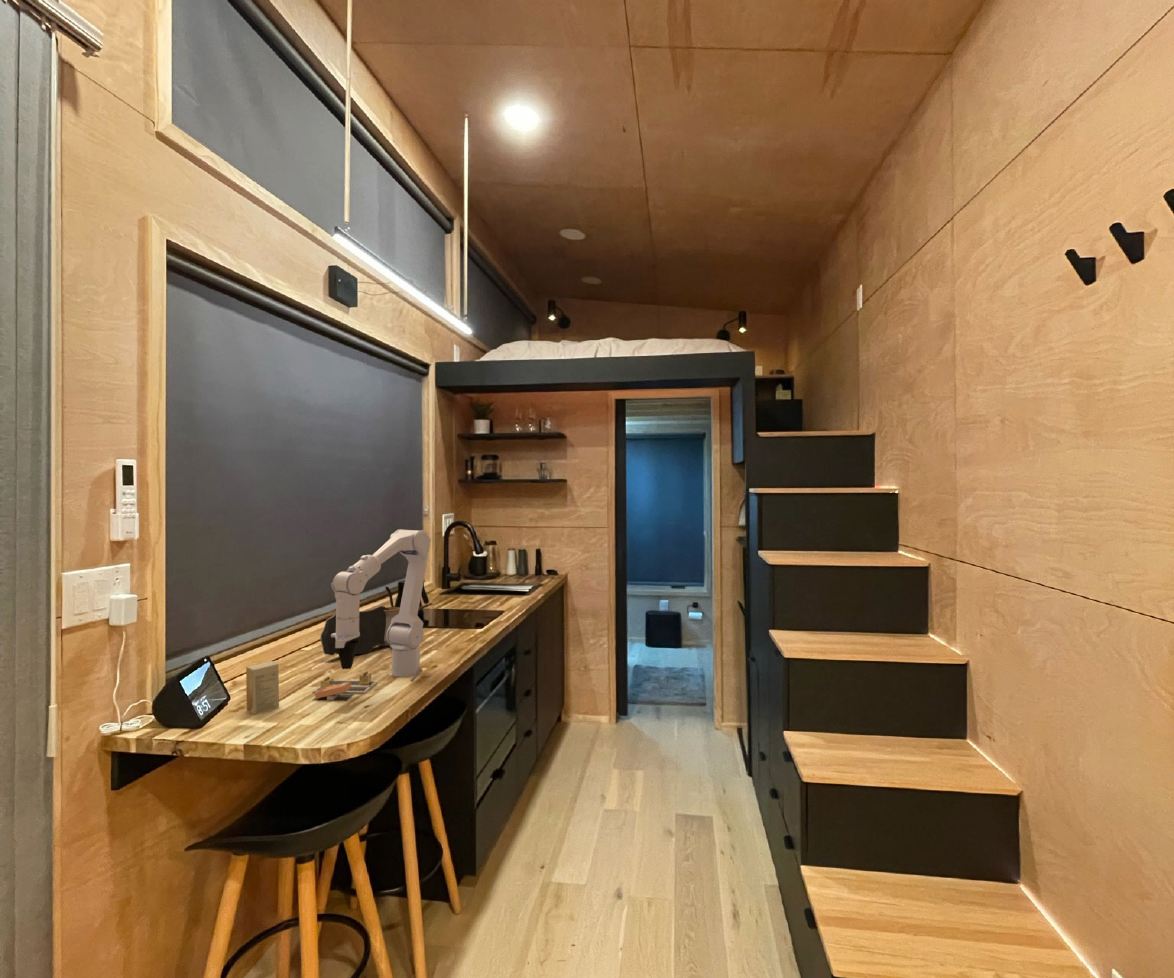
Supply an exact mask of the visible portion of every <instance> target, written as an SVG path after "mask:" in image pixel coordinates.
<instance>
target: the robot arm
mask: <svg viewBox="0 0 1174 978" xmlns="http://www.w3.org/2000/svg"><path fill="white" fill-rule="evenodd" d="M430 546H431V538H430V536H429V534H428V532H427V531H426V530H423V529H420V530H416V529H415V530H412V529H404V528H403V529H401V528H399V529H397V530H396V531H394V532H393V533H391V534H390V537H389V539H388V540H387V541H386V542H384V544H383V545H382V546H381V547H379V549H377V551H375V552H374V553H373V554H366V555H362V556H361V557H360V559H359V560H358V561H357V562H356V563H353V565H350V566H349V567H348V568H347V570H346V571H340V572H338V573H337V574H336V575H335V576H334V578H333V579H332V582H331V583H330V586H331V588H332V591H333V593H334V598H335V601H336V607H335V609H336V613H335V614H336V633H333V634H331V637H335V639H336V641H335V643H334V647H335V649H336V650H337V652H338V654H337V655H338V656H339V662H340V666H341V669H342V670H350V669H352V667H353V664H354V661H355V660H354V659H355V655H356V654H355V652H356V649H357V646H358V644H359V642H360V639H354V638H357V637H359V636H360V632H359V611H360V604H361V603H360V600H361V599H360V597H361V596H360V593H362V592H363V591H364V589H365V587H366V584H367V583H368V581H369V580H370V579H371V578H372V577H374V576H375V575H376V574H377V573H379V572H380V570H381V568H382V566H381V565H382V564H383V563H384V562H386V561H387V560H389V559H390V558H391V557H393V556H394V555H396V554H397V553H398V552H399V554H401V555H402V556H403V557H404V558H406V560H407V562H408V564H407V569H406V573H405V574H406V575H405V580H404V584H403V590H402V596H401V602H400V606H399V608H400V610H399V611H398V615H396V616H395V617H394V618H392V620H391V624H390V626H389V628H388V630H387V633H386V639H387V641H388V643H389V644H390V648H391V675H392V676H394V677H399V678H401V677H402V678H403V677H405V678H406V677H411V676H413V677H412V678H411V680H410V682H414V681H415V680H416V679H417V678H418V677H419V676H420V675H421V673H422V672H423V671H424V669H420V666H421V664H420V663H421V661H420V659H421V658H420V657H421V650H420V645H421V644H422V642H423V640H424V629H423V627H424V622H423V620H422V619H421V618H420V617H419V616H418V614H419V611H418V609H419V607H420V603H421V599H422V592H423V587H424V581H425V576H426V570H427V565H428V561H429V560H428V559H429V552H430V551H429V550H430ZM419 669H420V670H419ZM418 670H419V671H418ZM414 675H415V676H414ZM418 675H419V676H418Z"/></svg>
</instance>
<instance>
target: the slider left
mask: <svg viewBox="0 0 1174 978" xmlns="http://www.w3.org/2000/svg"><path fill="white" fill-rule="evenodd" d="M358 679H359V685H370V684H371V681H372V672H369V671H365V672H362V673H360V674H359V678H358Z"/></svg>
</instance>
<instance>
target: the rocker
mask: <svg viewBox="0 0 1174 978" xmlns="http://www.w3.org/2000/svg"><path fill="white" fill-rule="evenodd" d="M350 688H351V682H346V683H342V684H338V685H333V686H329V687H325V688H321V689H320V690H318V691H317V692H315V693H314V698H315V697H316V699H317V698H322V697H326V696H330V695H334V694H338V693H343V692H346V691H347V690H349V689H350Z"/></svg>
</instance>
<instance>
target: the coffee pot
mask: <svg viewBox="0 0 1174 978" xmlns="http://www.w3.org/2000/svg"><path fill="white" fill-rule="evenodd" d="M430 606H431V607H432V608H434V607H435V604H434V603H433V602H430V603H426V604H425V605H422V606H420V605H419V609H418V612H420V611H422V610H423V609H425V608H428V607H430ZM386 608H387V609H389V610H383V611H384V612H385V614H386V629H385V636H384V642H385V644H379V645H378V646H380V647H383V646H390V644H389V643H388V641H387V639H386V633H387V630H388V628H389V626H390V624H391V620H392V618H394V617H395V616H396V615H398V614H399V610H400V606H398V607H397V606H389V607H388V606H387V607H386Z"/></svg>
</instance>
